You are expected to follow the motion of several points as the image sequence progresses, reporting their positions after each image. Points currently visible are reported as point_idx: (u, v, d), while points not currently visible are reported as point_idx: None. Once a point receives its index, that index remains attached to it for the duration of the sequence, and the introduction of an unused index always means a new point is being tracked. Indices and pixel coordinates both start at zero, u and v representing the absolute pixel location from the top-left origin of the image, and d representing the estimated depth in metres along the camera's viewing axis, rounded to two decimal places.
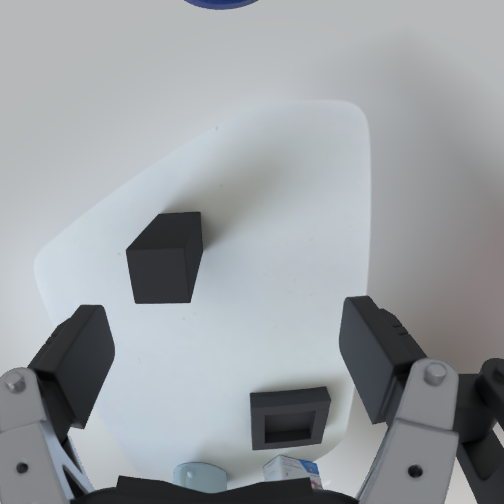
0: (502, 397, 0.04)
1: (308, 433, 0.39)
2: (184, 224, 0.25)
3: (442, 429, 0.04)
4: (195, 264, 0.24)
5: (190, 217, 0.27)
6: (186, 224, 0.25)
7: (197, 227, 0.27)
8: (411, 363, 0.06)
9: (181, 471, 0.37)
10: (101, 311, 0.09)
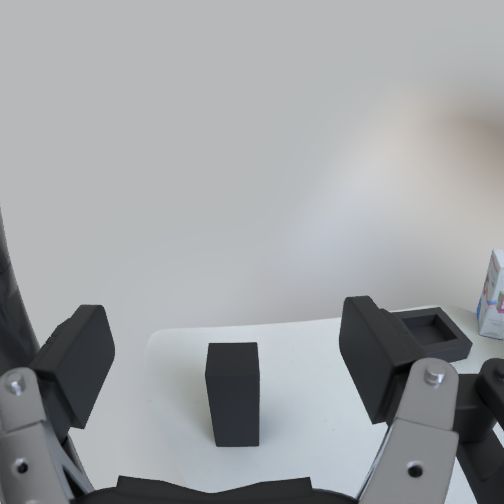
0: (502, 397, 0.04)
1: (435, 320, 0.41)
2: None
3: (442, 429, 0.04)
4: None
5: None
6: None
7: None
8: (411, 363, 0.06)
9: None
10: (101, 311, 0.09)
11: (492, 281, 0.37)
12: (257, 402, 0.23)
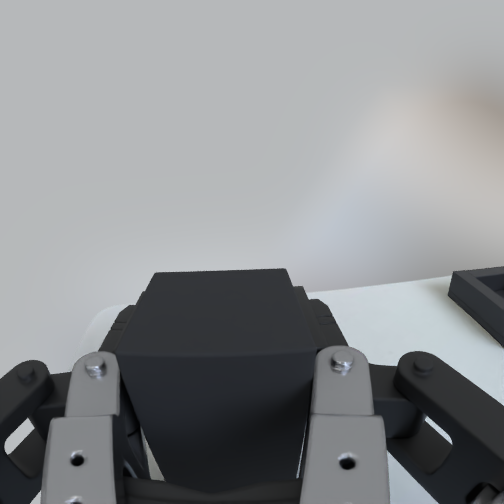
0: (414, 392, 0.05)
1: None
2: None
3: (363, 416, 0.04)
4: None
5: None
6: None
7: None
8: (323, 350, 0.07)
9: None
10: None
11: None
12: (297, 443, 0.07)
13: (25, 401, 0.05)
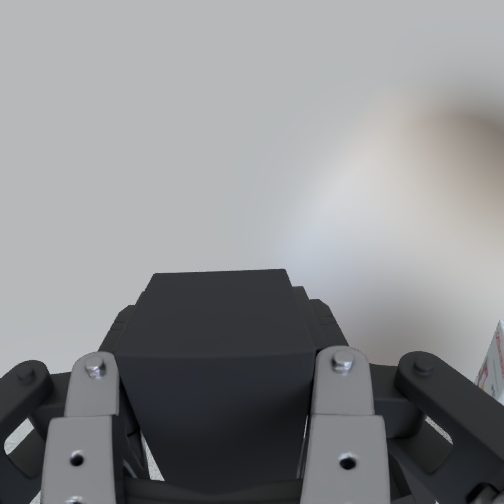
0: (415, 391, 0.05)
1: None
2: None
3: (364, 416, 0.04)
4: None
5: None
6: None
7: None
8: (323, 350, 0.07)
9: None
10: None
11: (493, 385, 0.19)
12: (297, 444, 0.07)
13: (24, 400, 0.05)
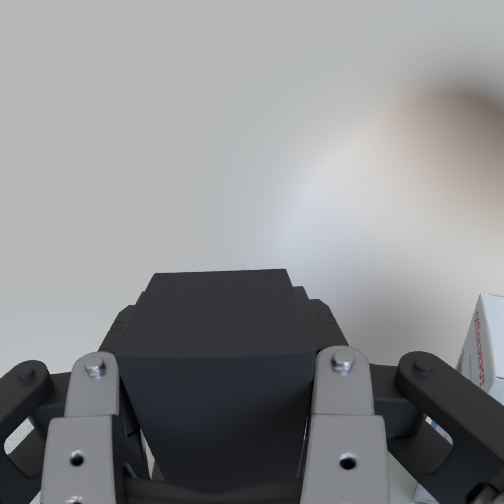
0: (415, 392, 0.05)
1: None
2: None
3: (364, 416, 0.04)
4: None
5: None
6: None
7: None
8: (323, 350, 0.07)
9: None
10: None
11: None
12: (297, 444, 0.07)
13: (24, 401, 0.05)
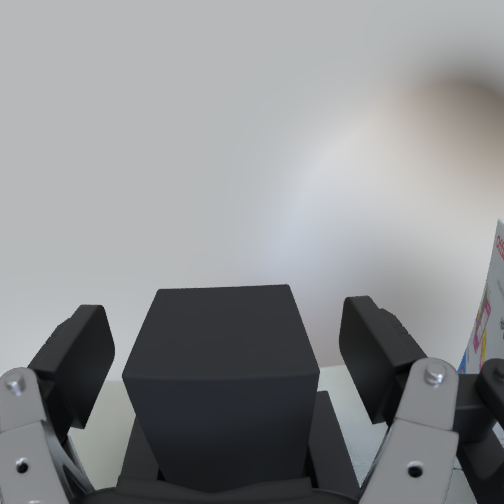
0: (502, 397, 0.04)
1: None
2: None
3: (442, 429, 0.04)
4: None
5: None
6: None
7: None
8: (411, 363, 0.06)
9: None
10: (101, 311, 0.09)
11: (503, 319, 0.10)
12: (300, 456, 0.07)
13: None
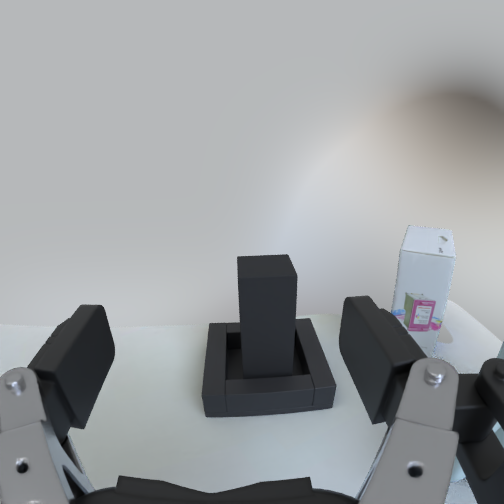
0: (502, 397, 0.04)
1: (296, 338, 0.29)
2: None
3: (442, 429, 0.04)
4: None
5: None
6: None
7: None
8: (411, 363, 0.06)
9: None
10: (101, 311, 0.09)
11: None
12: (293, 315, 0.22)
13: None
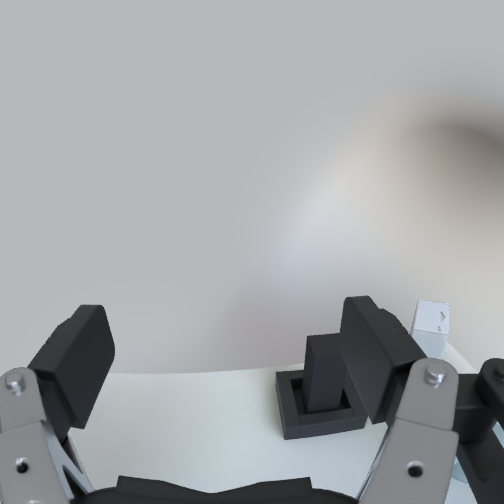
0: (502, 397, 0.04)
1: None
2: (304, 376, 0.36)
3: (442, 429, 0.04)
4: None
5: (303, 387, 0.37)
6: (304, 374, 0.36)
7: None
8: (411, 363, 0.06)
9: None
10: (101, 311, 0.09)
11: None
12: (344, 374, 0.32)
13: None
